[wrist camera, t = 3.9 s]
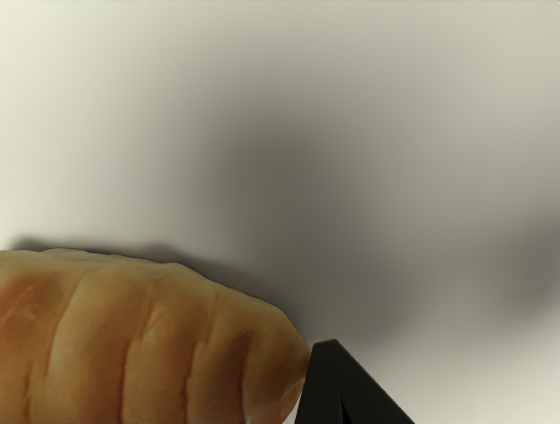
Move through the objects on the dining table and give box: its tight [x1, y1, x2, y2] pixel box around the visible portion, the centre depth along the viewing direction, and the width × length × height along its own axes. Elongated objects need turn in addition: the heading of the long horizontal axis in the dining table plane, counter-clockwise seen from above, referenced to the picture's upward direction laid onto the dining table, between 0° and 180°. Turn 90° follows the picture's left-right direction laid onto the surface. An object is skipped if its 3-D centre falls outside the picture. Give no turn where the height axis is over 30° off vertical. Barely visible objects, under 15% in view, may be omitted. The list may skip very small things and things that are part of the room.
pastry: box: [0, 248, 311, 424], centre depth 8 cm, size 9×7×4 cm
